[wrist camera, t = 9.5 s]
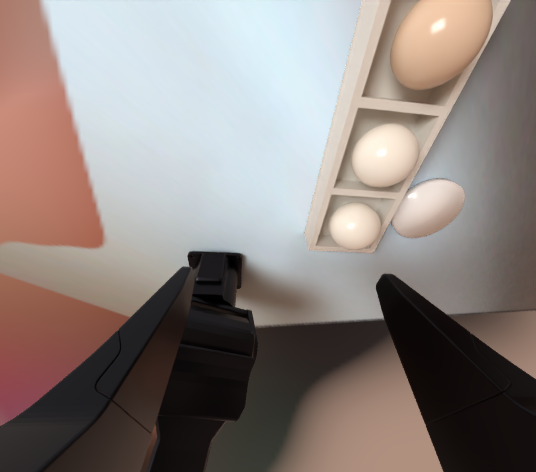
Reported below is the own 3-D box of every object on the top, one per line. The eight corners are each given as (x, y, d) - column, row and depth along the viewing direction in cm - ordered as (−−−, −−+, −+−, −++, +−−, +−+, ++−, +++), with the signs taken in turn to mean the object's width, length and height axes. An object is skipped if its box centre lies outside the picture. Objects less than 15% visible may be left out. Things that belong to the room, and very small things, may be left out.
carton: (362, 235, 26) (373, 252, 23) (303, 232, 25) (308, 250, 23) (485, -25, 13) (534, -45, 11) (373, -45, 12) (399, -70, 10)
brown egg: (420, 89, 16) (475, 97, 12) (364, 83, 15) (408, 89, 12) (459, -1, 13) (546, -24, 10) (394, -15, 12) (463, -45, 9)
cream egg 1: (359, 231, 24) (377, 261, 20) (319, 229, 24) (330, 259, 20) (375, 194, 21) (400, 221, 18) (330, 191, 21) (346, 218, 17)
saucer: (434, 234, 26) (439, 239, 25) (380, 231, 25) (383, 236, 25) (474, 180, 22) (480, 184, 21) (409, 175, 21) (414, 179, 20)
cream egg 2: (384, 175, 20) (412, 199, 16) (336, 171, 20) (354, 195, 16) (409, 120, 17) (450, 135, 13) (354, 114, 17) (380, 128, 13)
